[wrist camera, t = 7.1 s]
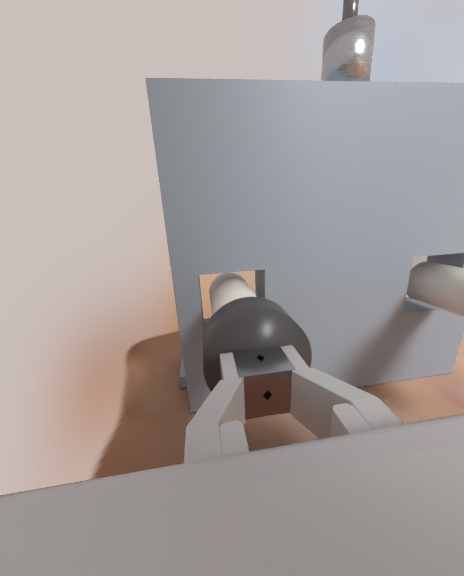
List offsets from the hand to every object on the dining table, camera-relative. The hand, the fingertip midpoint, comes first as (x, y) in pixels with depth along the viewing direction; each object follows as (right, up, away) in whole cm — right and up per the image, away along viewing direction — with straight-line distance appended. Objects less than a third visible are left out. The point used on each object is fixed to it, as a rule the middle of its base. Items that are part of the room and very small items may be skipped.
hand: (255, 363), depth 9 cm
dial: (+6, +16, +5) cm, 18 cm away
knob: (0, -1, +6) cm, 6 cm away
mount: (+7, -5, +14) cm, 17 cm away
